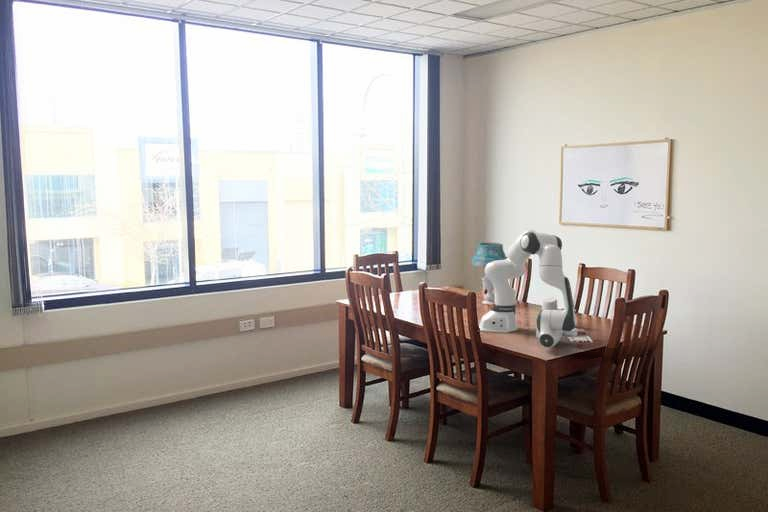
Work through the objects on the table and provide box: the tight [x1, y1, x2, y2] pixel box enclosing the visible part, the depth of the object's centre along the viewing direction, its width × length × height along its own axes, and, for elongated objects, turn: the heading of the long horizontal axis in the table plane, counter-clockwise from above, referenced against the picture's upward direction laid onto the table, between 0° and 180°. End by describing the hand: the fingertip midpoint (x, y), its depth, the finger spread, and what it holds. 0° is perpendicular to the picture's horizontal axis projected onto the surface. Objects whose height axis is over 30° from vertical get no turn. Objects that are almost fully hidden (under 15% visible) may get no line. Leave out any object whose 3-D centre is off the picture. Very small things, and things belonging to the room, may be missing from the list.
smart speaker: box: [541, 296, 559, 311], centre depth 371 cm, size 10×9×14 cm
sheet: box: [567, 335, 594, 343], centre depth 332 cm, size 11×10×1 cm
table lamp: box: [471, 242, 508, 306], centre depth 420 cm, size 24×24×40 cm
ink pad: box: [577, 328, 587, 335], centre depth 345 cm, size 9×7×1 cm
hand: (559, 327), depth 331 cm, fingers open, 8 cm apart
